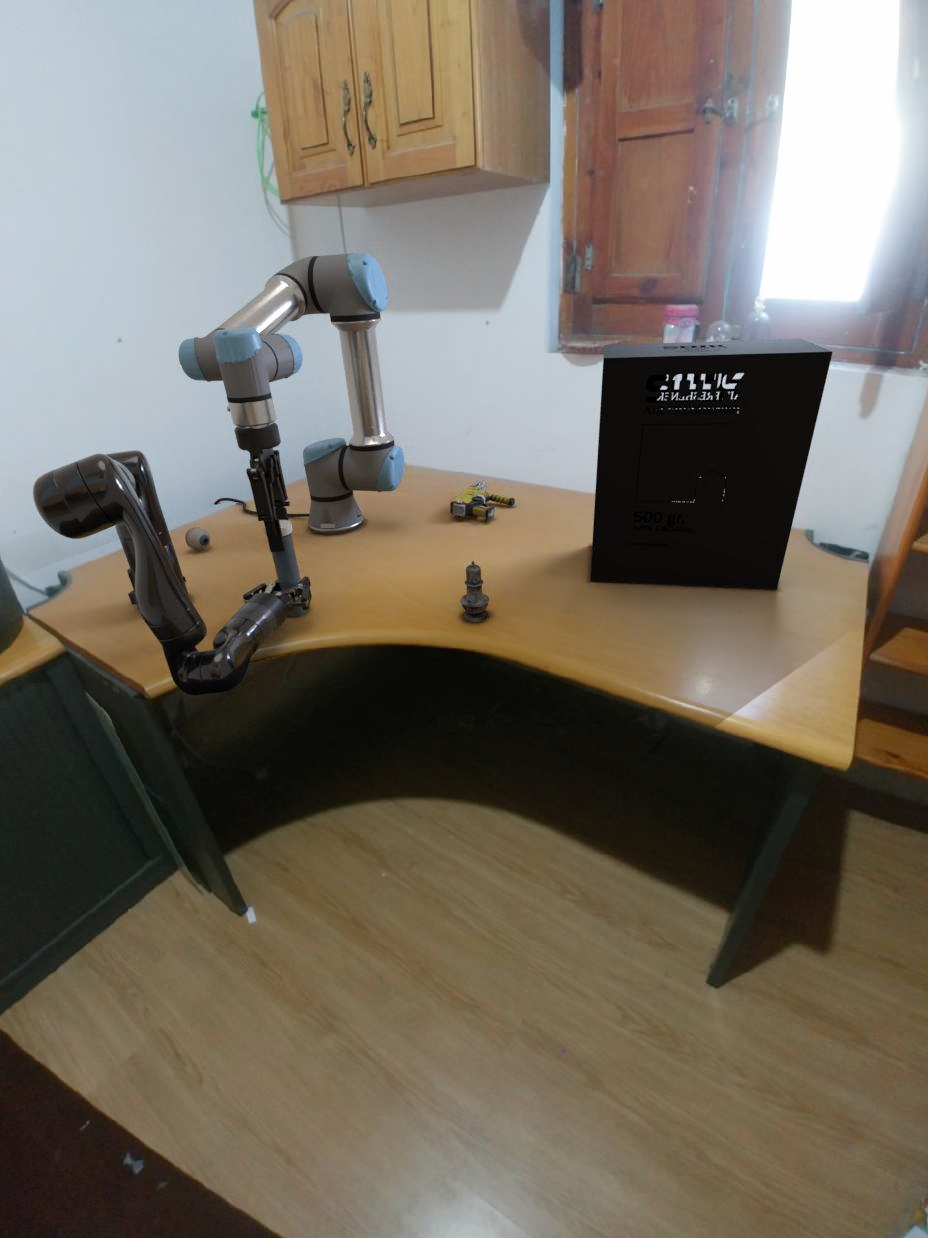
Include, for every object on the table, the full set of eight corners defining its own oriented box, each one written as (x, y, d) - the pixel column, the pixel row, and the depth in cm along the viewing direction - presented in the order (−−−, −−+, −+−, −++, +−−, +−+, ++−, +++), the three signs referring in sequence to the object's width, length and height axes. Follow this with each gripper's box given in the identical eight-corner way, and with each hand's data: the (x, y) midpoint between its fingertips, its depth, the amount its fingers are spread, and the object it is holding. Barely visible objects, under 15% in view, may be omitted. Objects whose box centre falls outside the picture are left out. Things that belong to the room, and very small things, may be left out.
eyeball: (199, 555, 155) (192, 533, 152) (183, 551, 158) (177, 529, 155) (218, 547, 159) (212, 525, 156) (203, 543, 162) (197, 522, 159)
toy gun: (523, 485, 181) (476, 478, 185) (501, 509, 161) (448, 500, 165) (521, 500, 184) (475, 493, 187) (499, 525, 163) (447, 517, 167)
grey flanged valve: (487, 623, 118) (485, 567, 112) (458, 621, 119) (454, 566, 113) (492, 608, 123) (490, 554, 117) (464, 607, 124) (461, 553, 118)
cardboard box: (756, 549, 141) (800, 338, 118) (776, 589, 124) (832, 351, 101) (592, 544, 148) (604, 344, 126) (590, 580, 131) (603, 357, 109)
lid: (293, 526, 120) (291, 518, 120) (291, 535, 116) (290, 527, 115) (266, 529, 120) (264, 521, 119) (264, 538, 115) (262, 530, 114)
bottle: (304, 616, 125) (286, 530, 115) (283, 617, 125) (263, 532, 115) (308, 605, 128) (291, 522, 119) (288, 606, 129) (269, 523, 119)
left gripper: (289, 605, 108) (325, 564, 123) (217, 601, 111) (261, 562, 125) (296, 640, 112) (331, 597, 127) (227, 636, 115) (268, 594, 129)
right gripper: (249, 414, 115) (274, 528, 127) (217, 437, 100) (249, 565, 111) (288, 412, 115) (310, 527, 127) (262, 434, 100) (289, 563, 111)
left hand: (296, 580), depth 126 cm, fingers closed on bottle, 4 cm apart
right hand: (281, 544), depth 119 cm, fingers closed on lid, 5 cm apart
